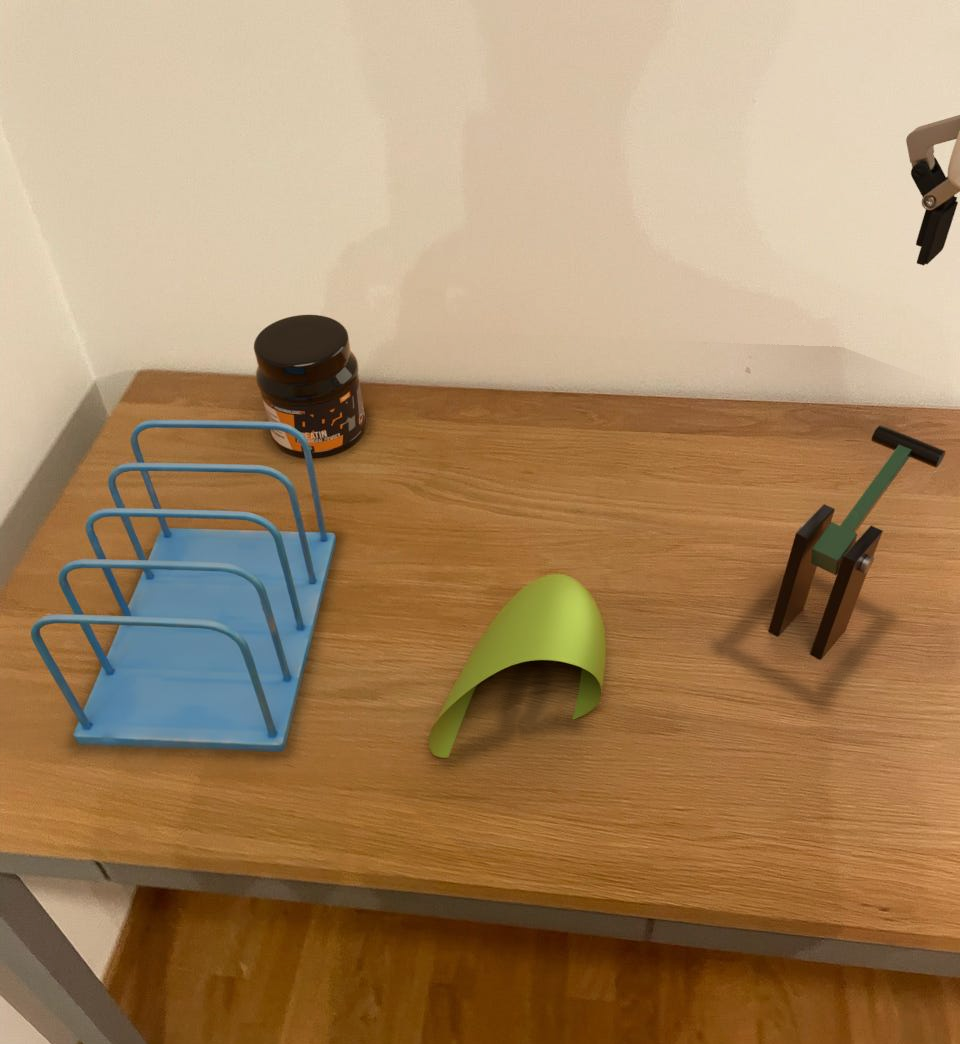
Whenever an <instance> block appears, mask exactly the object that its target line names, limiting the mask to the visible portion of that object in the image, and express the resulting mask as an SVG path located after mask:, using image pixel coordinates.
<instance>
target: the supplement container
mask: <svg viewBox="0 0 960 1044" xmlns="http://www.w3.org/2000/svg"><path fill="white" fill-rule="evenodd" d="M253 352H254V355H255V360H256V363H257V367H256V371H255V380H256V384H257V387H258V388H259V390H260V395H261V397H262V398H261V399H262V403H263V406H264V411H265V415H266V419H267V422H278V423H284V424H287V425H289V426H292V427H293V428H295V429H297V430H298V431H299V432H301V433H302V434H303V435H304V437H305V438H306V440H307V442H308V444H309V447H310V450H311V455H312V460H315V459H324V458H329V457H333V456H336V455H339V454H341V453H343V452H346V451H348V450H349V449H351V448H352V447H354V446H355V445H356V444H358V443H359V442H360V441H361V439H362V438H363V437H364V435H365V433H366V430H367V417H366V413H365V408H364V401H363V396H362V389H361V388H362V387H361V383H360V377H359V363H358V359H357V357H356V355H355V354H354V352H353V351H352V350H351V345H350V338H349V333H348V330H347V329H346V327H345V326H344V325H343V324H342V323H341V322H339V321H338V320H336V319H334V318H332V317H329V316H325V315H319V314H299V315H292V316H288V317H284V318H281V319H279V320H276V321H274V322H272V323H270V324H269V325H267V326H266V327H264V328H263V329H262V330H261V331H260V332H259V333H258V335H257V336H256V338H255V340H254V342H253ZM269 434H270V438H271V440H272V443H273V444H274V445H275V446H276V448H277V449H278V450H279V451H281V452H282V453H284V454H286V455H288V456H291V457H295V458H299V459H305V455H304V451H303V448H302V445H301V444H300V442H299V441H298V440H297V439H296V438H295V437H294V436H293V435H290V434H288V433H286V432H284V431H280V430H269Z"/></svg>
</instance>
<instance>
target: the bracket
mask: <svg viewBox="0 0 960 1044" xmlns="http://www.w3.org/2000/svg"><path fill="white" fill-rule="evenodd" d="M835 510H836V509H835V508H834V507H831V506H829V505H827V504H825V503H823V504H822V505H821V506H820V507H819V508H818V510H816V511H815V512H814V513H813V514H812V516H810V518H809V519H808V520H807V521H806V522H805V523H804V524H802V525H800V526H799V528H798V529H797V531H796V532H795V535H794V538H793V543H792V545H791V549H790V552H789V553H790V554H789V556H788V559H787V564H786V566H785V570H784V574H783V576H782V581H781V585H780V588H779V590H778V591H779V592H778V595H777V598H776V603H775V606H774V608H773V612H772V616H771V619H770V624H769V628H768V631H767V632H768V633H769V634H771V635H773V636H775V637H777V638H778V637H780V636H781V635H782V634H783V632H784V631H785V630H786V629H787V628H788V627H789V626H790V624H791V623H792V622H793V621H794V620H795V619H796V618H797V617H798V616H799V614H800V613H801V612H802V611H803V610H804V608H805V605H806V602H807V599H808V596H809V593H810V589H811V587H812V582H813V580H814V576H815V574H816V570H817V568H818V566H816V565H814V564H812V563H811V558H812V548H813V546H814V545H815V544H816V542H817V541H818V540H819V538H820V537H821V535H822V534H823V533H824V531H825V530H826V529H827V527H828V526H829V524H830V523H831V522H832V520H833V517H834V514H835ZM882 534H883V530H882V529H880V528H879V527H876V526H874V525H870V526H869V527H868V528H867V529H866V530H865V531H864V533H863V534H861V536H860V537H859V538H858V539H856V543H855V544H854V545H853V546H852V547H851V548H850V549H849V550H848V552H847V553H846V554H845V555H844V556H843V559H842V562H841V565H840V568H839V571H838V573H837V575H836V577H835V579H834V583H833V586H832V588H831V591H830V594H829V596H828V600H827V603H826V606H825V609H824V611H823V615H822V618H821V620H820V623H819V627H818V630H817V632H816V635H815V638H814V641H813V644H812V647H811V649H810V653H809V655H810V656H812V657H814V658H815V659H817V660H819V661H821V660H822V659H823V658H824V657H825V655H826V654H827V653H828V652H829V651H830V650H831V648H832V647H833V646H834V645H835V644H836V642H837V641H838V640H839V639H840V638H841V636H843V634H844V633H845V632H846V631H847V628H848V626H849V622H850V620H851V617H852V615H853V612H854V609H855V607H856V604H857V601H858V598H859V596H860V593H861V591H862V588H863V586H864V582H865V580H866V577H867V574H868V572H869V570H870V569H871V567H872V565H873V563H874V561H875V557H874V556H875V553H876V550H877V548H878V544H879V542H880V540H881V537H882Z"/></svg>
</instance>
